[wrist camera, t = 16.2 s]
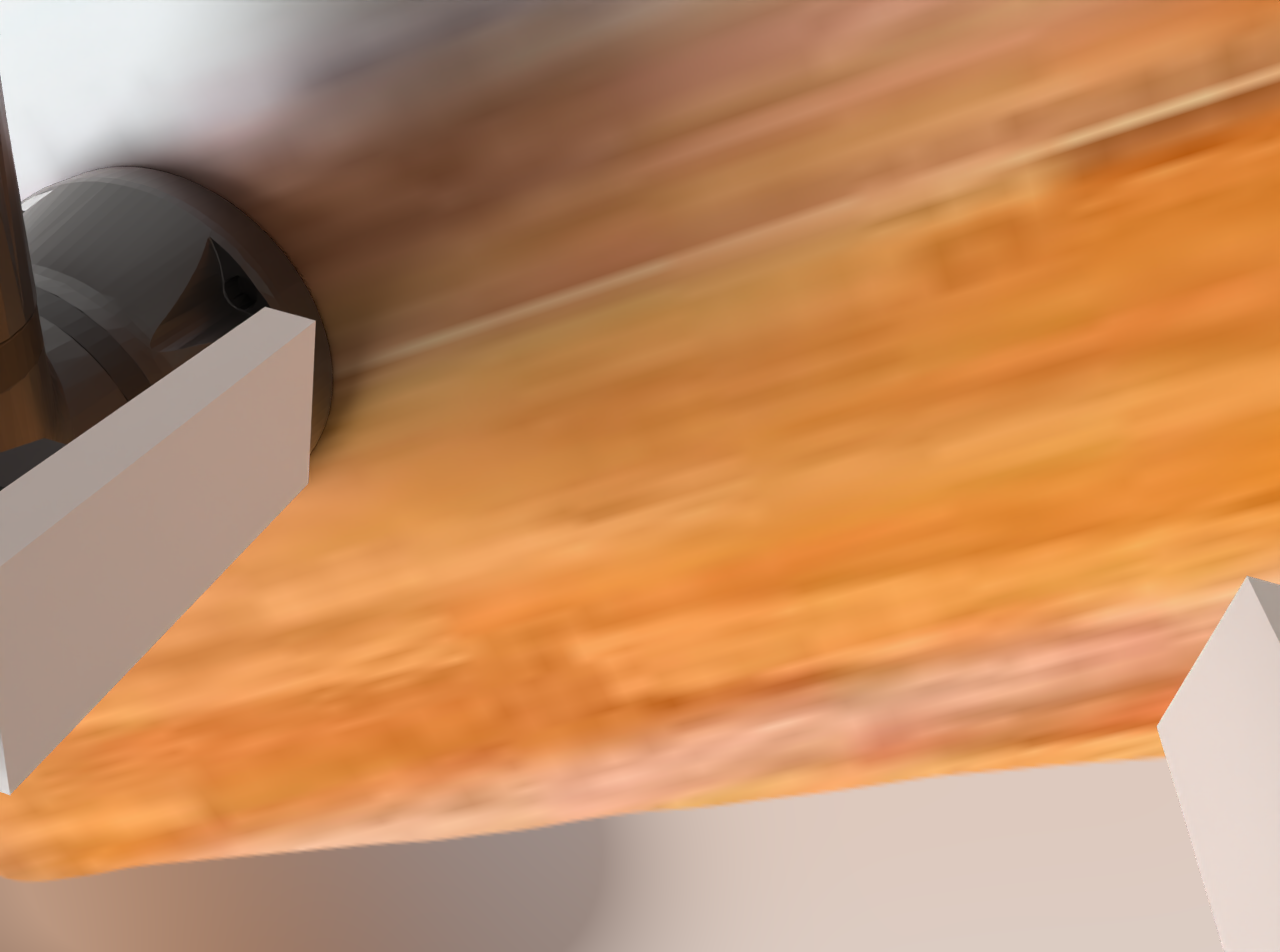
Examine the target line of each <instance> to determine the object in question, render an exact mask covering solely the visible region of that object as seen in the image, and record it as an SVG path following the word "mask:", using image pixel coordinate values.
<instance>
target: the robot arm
mask: <svg viewBox="0 0 1280 952" xmlns="http://www.w3.org/2000/svg"><path fill="white" fill-rule="evenodd" d="M332 384H333V377H332V363H331V355H330V350H329V345H328V341H327V337H326V333H325V329H324V326H323V323H322V321H321V318H320V315H319V313H318V310H317V308H316V305H315V303H314V301H313V299H312V297H311V295H310V293H309V291H308V289H307V287H306V286H305V284H304V282H303V280H302V279H301V277H300V276H299V274H298V272H297V271H296V269H295V268H294V266H293V265H292V264H291V262H290V261H289V259H288V258H287V257H286V255H285V254H284V253H283V252H282V251H281V249H280V248H279V247H278V246H277V244H276V243H275V242H274V241H273V240H272V239H271V238H270V237H269V236H268V235H267V234H266V233H265V232H264V231H263V230H262V229H261V228H260V227H259V226H258V225H257V224H256V223H255V222H254V221H253V220H251V219H250V218H249V217H248V216H247V215H246V214H244V213H243V212H242V211H241V210H239V209H238V208H237V207H235V206H234V205H233V204H231V203H230V202H228V201H227V200H225V199H224V198H222V197H221V196H219V195H217V194H215V193H214V192H212V191H210V190H208V189H207V188H205V187H203V186H201V185H198V184H196V183H194V182H192V181H189V180H187V179H185V178H182V177H179V176H176V175H173V174H170V173H166V172H163V171H159V170H154V169H148V168H141V167H108V168H102V169H96V170H93V171H89V172H86V173H83V174H80V175H77V176H74V177H72V178H69V179H66V180H63V181H61V182H58V183H55V184H53V185H50V186H48V187H45V188H43V189H41V190H39V191H38V192H36V193H34V194H32V195H31V196H29V197H28V198H26V199H25V200H23V201H22V202H21V199H20V194H19V188H18V182H17V176H16V170H15V164H14V159H13V153H12V147H11V141H10V135H9V129H8V123H7V118H6V111H5V104H4V97H3V91H2V84H1V77H0V792H2V793H6V794H9V795H10V794H11V793H12V792H13V791H14V790H15V789H16V788H17V787H18V786H19V785H20V784H21V783H22V782H23V781H24V780H25V779H26V778H27V777H28V776H29V775H30V773H31V772H32V771H33V770H34V769H35V768H36V767H37V766H38V765H39V764H40V763H41V762H42V761H43V760H44V759H45V758H46V757H47V756H48V755H49V754H50V753H51V752H52V751H53V749H54V748H55V747H56V746H57V745H58V744H59V743H60V742H61V741H62V740H63V739H64V738H65V737H66V736H67V735H68V734H69V733H70V732H71V731H72V730H73V729H74V728H75V727H76V725H77V724H78V723H79V722H80V721H81V720H82V719H83V718H84V717H85V716H86V715H87V714H88V713H89V712H90V711H91V710H92V709H93V708H94V707H95V706H96V705H97V704H98V702H99V701H100V700H101V699H102V698H103V697H104V696H105V695H106V694H107V693H108V692H109V691H110V690H111V689H112V688H113V687H114V686H115V685H116V684H117V683H118V682H119V681H120V680H121V678H122V677H123V676H124V675H125V674H126V673H127V672H128V671H129V670H130V669H131V668H132V667H133V666H134V665H135V664H136V663H137V662H138V661H139V660H140V659H141V658H142V657H143V656H144V654H145V653H146V652H147V651H148V650H149V649H150V648H151V647H152V646H153V645H154V644H155V643H156V642H157V641H158V640H159V639H160V638H161V637H162V636H163V635H164V634H165V633H166V632H167V630H168V629H169V628H170V627H171V626H172V625H173V624H174V623H175V622H176V621H177V620H178V619H179V618H180V617H181V616H182V615H183V614H184V613H185V612H186V611H187V610H188V609H189V607H190V606H191V605H192V604H193V603H194V602H195V601H196V600H197V599H198V598H199V597H200V596H201V595H202V594H203V593H204V592H205V591H206V590H207V589H208V588H209V587H210V586H211V585H212V583H213V582H214V581H215V580H216V579H217V578H218V577H219V576H220V575H221V574H222V573H223V572H224V571H225V570H226V569H227V568H228V567H229V566H230V565H231V564H232V563H233V562H234V561H235V559H236V558H237V557H238V556H239V555H240V554H241V553H242V552H243V551H244V550H245V549H246V548H247V547H248V546H249V545H250V544H251V543H252V542H253V541H254V540H255V539H256V538H257V536H258V535H259V534H260V533H261V532H262V531H263V530H264V529H265V528H266V527H267V526H268V525H269V524H270V523H271V522H272V521H273V520H274V519H275V518H276V517H277V516H278V515H279V514H280V512H281V511H282V510H283V509H284V508H285V507H286V506H287V505H288V504H289V503H290V502H291V501H292V500H293V499H294V498H295V497H296V496H297V495H298V494H299V493H300V492H301V491H302V490H303V488H304V487H305V486H306V485H307V484H308V481H309V459H310V453H311V452H312V450H313V449H314V447H315V446H316V444H317V442H318V440H319V438H320V436H321V434H322V432H323V430H324V427H325V425H326V422H327V418H328V415H329V410H330V405H331V398H332ZM1157 729H1158V732H1159V736H1160V739H1161V743H1162V746H1163V749H1164V753H1165V756H1166V759H1167V763H1168V766H1169V769H1170V773H1171V776H1172V779H1173V783H1174V786H1175V790H1176V793H1177V796H1178V800H1179V803H1180V806H1181V810H1182V813H1183V816H1184V820H1185V823H1186V827H1187V830H1188V833H1189V836H1190V840H1191V843H1192V847H1193V850H1194V853H1195V856H1196V860H1197V863H1198V867H1199V870H1200V874H1201V877H1202V880H1203V884H1204V887H1205V890H1206V893H1207V897H1208V900H1209V904H1210V907H1211V910H1212V914H1213V917H1214V920H1215V924H1216V927H1217V931H1218V934H1219V937H1220V941H1221V944H1222V947H1223V951H1224V952H1280V585H1278V584H1275V583H1271V582H1267V581H1264V580H1260V579H1256V578H1253V577H1249V576H1247V577H1246V578H1245V580H1244V582H1243V583H1242V585H1241V587H1240V588H1239V590H1238V592H1237V593H1236V595H1235V597H1234V598H1233V600H1232V602H1231V603H1230V605H1229V607H1228V608H1227V610H1226V612H1225V613H1224V615H1223V617H1222V618H1221V620H1220V622H1219V623H1218V625H1217V627H1216V628H1215V630H1214V632H1213V633H1212V635H1211V637H1210V638H1209V640H1208V642H1207V643H1206V645H1205V647H1204V648H1203V650H1202V652H1201V653H1200V655H1199V657H1198V658H1197V660H1196V662H1195V663H1194V665H1193V667H1192V669H1191V670H1190V672H1189V674H1188V675H1187V677H1186V679H1185V680H1184V682H1183V684H1182V685H1181V687H1180V689H1179V690H1178V692H1177V694H1176V695H1175V697H1174V699H1173V700H1172V702H1171V704H1170V705H1169V707H1168V709H1167V710H1166V712H1165V714H1164V715H1163V717H1162V719H1161V720H1160V722H1159V724H1158V725H1157Z"/></svg>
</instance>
